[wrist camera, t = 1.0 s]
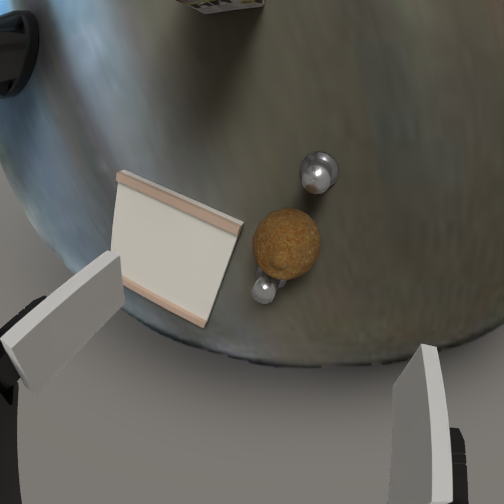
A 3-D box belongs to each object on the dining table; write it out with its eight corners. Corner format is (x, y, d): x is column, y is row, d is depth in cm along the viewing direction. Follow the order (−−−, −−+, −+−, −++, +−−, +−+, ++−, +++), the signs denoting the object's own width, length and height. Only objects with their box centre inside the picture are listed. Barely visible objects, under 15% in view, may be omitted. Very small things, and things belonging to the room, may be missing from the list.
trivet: (112, 270, 43) (106, 275, 42) (124, 169, 35) (117, 172, 34) (207, 321, 42) (203, 328, 41) (243, 222, 34) (239, 227, 33)
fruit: (320, 194, 30) (311, 225, 23) (327, 251, 33) (319, 295, 26) (259, 200, 32) (233, 231, 25) (270, 254, 35) (249, 296, 28)
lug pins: (252, 279, 37) (241, 299, 33) (309, 145, 28) (304, 152, 25) (280, 292, 37) (272, 313, 33) (344, 161, 28) (344, 170, 24)
